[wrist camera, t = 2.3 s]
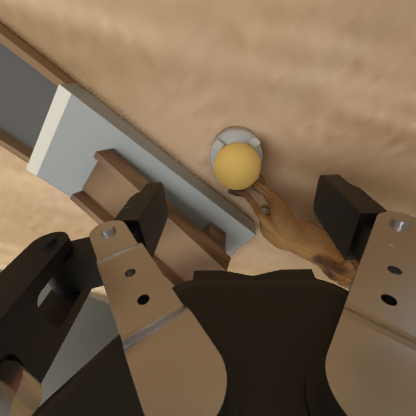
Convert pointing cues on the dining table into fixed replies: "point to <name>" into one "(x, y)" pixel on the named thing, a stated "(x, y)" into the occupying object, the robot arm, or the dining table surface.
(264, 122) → the dining table surface
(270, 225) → the lion figurine
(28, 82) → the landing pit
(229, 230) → the deck
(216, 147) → the grey dome cap
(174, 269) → the ramp
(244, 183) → the ball
